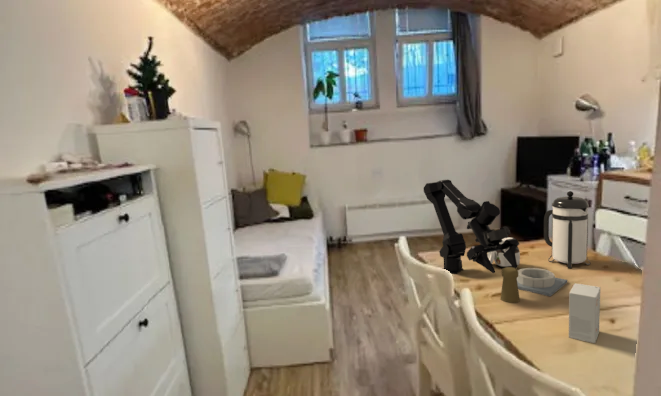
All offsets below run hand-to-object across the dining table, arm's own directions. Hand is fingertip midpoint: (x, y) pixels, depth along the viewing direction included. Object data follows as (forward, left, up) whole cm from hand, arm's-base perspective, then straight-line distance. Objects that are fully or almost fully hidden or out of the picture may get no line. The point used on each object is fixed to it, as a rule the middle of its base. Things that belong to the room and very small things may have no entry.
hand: (505, 270), depth 136 cm
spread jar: (-15, +28, -10) cm, 34 cm away
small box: (+27, -11, -10) cm, 31 cm away
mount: (+3, +17, -9) cm, 20 cm away
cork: (+2, -1, -10) cm, 10 cm away
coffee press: (+3, +47, -10) cm, 48 cm away
